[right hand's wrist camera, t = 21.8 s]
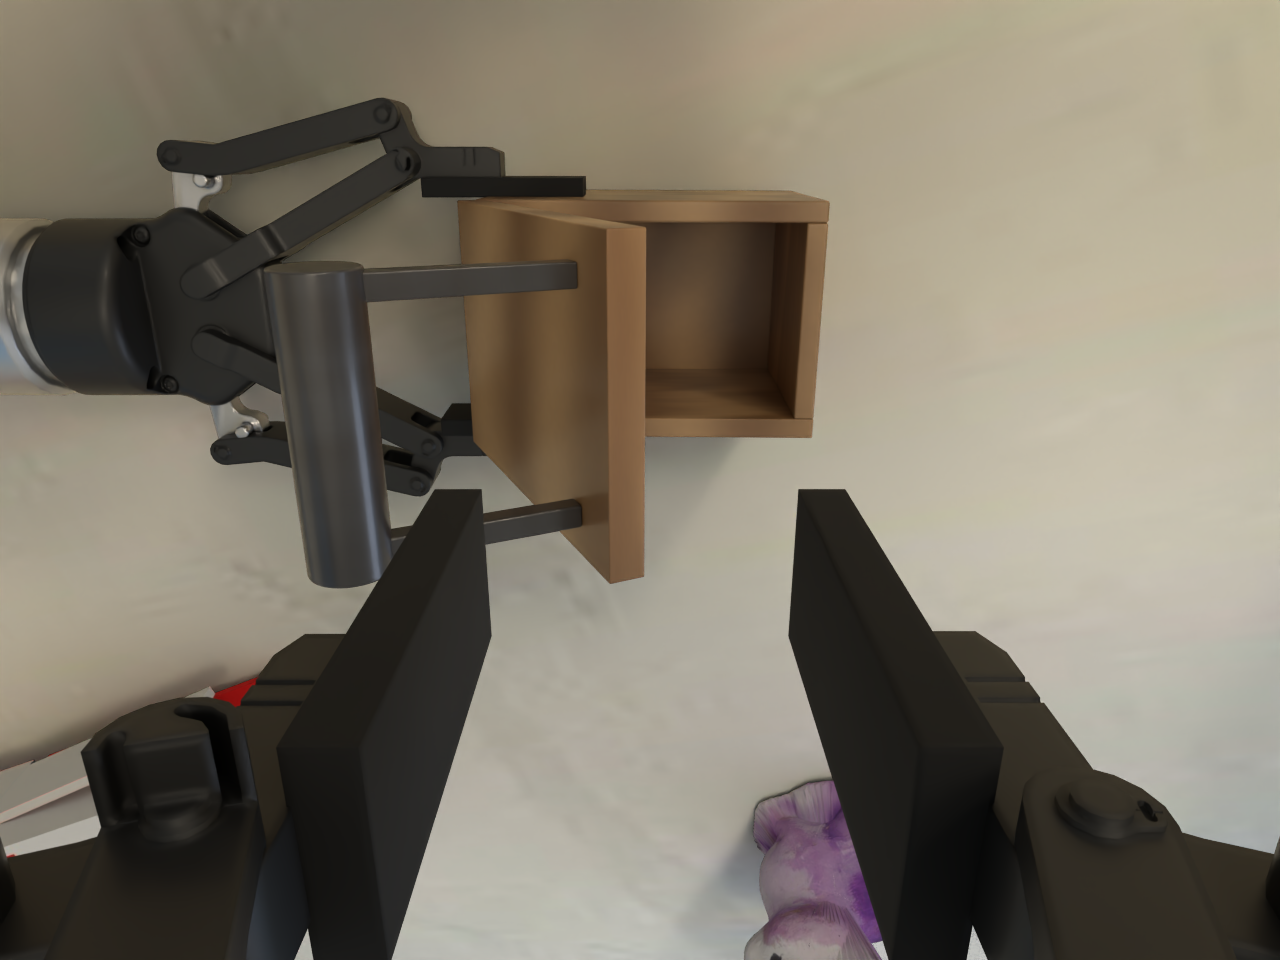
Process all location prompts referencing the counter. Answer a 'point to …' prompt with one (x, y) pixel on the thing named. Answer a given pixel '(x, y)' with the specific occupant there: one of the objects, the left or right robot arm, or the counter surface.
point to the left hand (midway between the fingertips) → (586, 308)
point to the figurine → (811, 881)
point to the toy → (60, 795)
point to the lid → (479, 386)
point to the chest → (723, 305)
